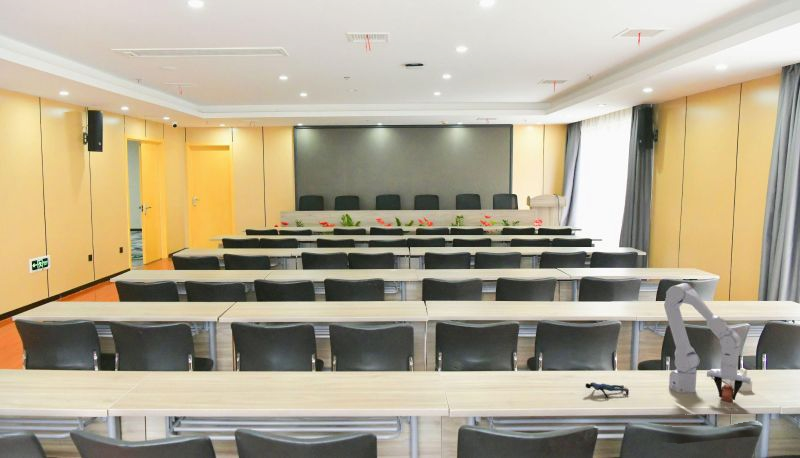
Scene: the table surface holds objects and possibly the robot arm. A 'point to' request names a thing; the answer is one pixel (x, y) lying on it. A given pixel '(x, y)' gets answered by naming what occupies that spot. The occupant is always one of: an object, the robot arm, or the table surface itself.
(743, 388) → the die
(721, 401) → the board
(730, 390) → the pawn
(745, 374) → the bracket
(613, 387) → the person figurine
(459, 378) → the table surface
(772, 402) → the table surface
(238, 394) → the table surface
